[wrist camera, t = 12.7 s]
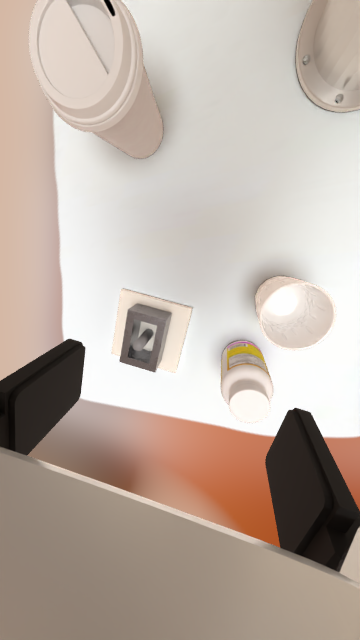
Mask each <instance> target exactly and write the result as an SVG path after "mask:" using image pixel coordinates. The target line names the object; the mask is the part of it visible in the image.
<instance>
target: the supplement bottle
mask: <svg viewBox="0 0 360 640" xmlns="http://www.w3.org/2000/svg"><path fill="white" fill-rule="evenodd" d="M221 393H222V396H223V398H224V400H225V401H226V403H227V404H228V405H229V409H230V412H231V414H232V415H233V416H234V417H235V418H236V419H238V420H239V421H242V422H245V423H256V422H259V421H261V420H263V419H265V418H266V417H267V415H268V414H269V412H270V400H271V398H272V396H273V384H272V381H271V378H270V375H269V372H268V369H267V366H266V363H265V361H264V358H263V355H262V353H261V351H260V349H259V348H258V347H257V346H256V345H255V344H253V343H251V342H248V341H236V342H233V343H231V344H229V345H228V346H227V347H226V348H225V349H224V351H223V353H222V359H221Z"/></svg>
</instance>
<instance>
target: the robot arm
mask: <svg viewBox="0 0 360 640" xmlns="http://www.w3.org/2000/svg"><path fill="white" fill-rule="evenodd" d="M303 63H305V64H306V65H304V64H303ZM296 68H297V74H298V78H299V81H300V84H301V86H302V89H303V90H304V92H305V93H306V95H307V96H308V97H309V98H310V99H311V100H312V101H313V102H314V103H315V104H316V105H318V106H320V107H322V108H324V109H326V110H330V111H334V112H348V111H354V110H358V109H360V0H313V2H312V3H311V5H310V7H309V9H308V11H307V14H306V16H305V19H304V21H303V24H302V27H301V31H300V34H299V37H298V43H297V49H296ZM335 101H338V103H336V102H335ZM84 357H85V347H84V346H83V344H82V343H81V342H79V341H76V340H72V339H67V340H66V341H64V342H63V343H61V344H60V345H58V346H56V347H55V348H53V349H51V350H50V351H48V352H46V353H45V354H43V355H41V356H40V357H38V358H37V359H35V360H33V361H32V362H30V363H29V364H27V365H25V366H24V367H22V368H20V369H19V370H17V371H16V372H14V373H12V374H11V375H9V376H7V377H6V378H4V379H3V380H1V381H0V640H360V511H359V509H358V507H357V505H356V503H355V501H354V499H353V497H352V495H351V493H350V491H349V489H348V487H347V485H346V483H345V481H344V479H343V477H342V475H341V473H340V471H339V469H338V467H337V465H336V463H335V461H334V459H333V457H332V455H331V453H330V451H329V449H328V447H327V445H326V443H325V441H324V439H323V437H322V435H321V433H320V431H319V429H318V427H317V425H316V423H315V421H314V419H313V417H312V415H311V413H310V412H308V411H304V410H301V409H298V408H294V409H293V410H289V411H288V412H287V414H286V416H285V418H284V420H283V422H282V425H281V427H280V429H279V431H278V433H277V435H276V437H275V439H274V441H273V443H272V445H271V447H270V449H269V451H268V453H267V456H266V462H265V463H266V469H267V474H268V481H269V486H270V492H271V497H272V503H273V508H274V514H275V520H276V525H277V531H278V536H279V542H280V548H279V547H277V546H274V545H272V544H269V543H266V542H264V541H261V540H259V539H256V538H253V537H250V536H248V535H245V534H242V533H240V532H237V531H234V530H232V529H229V528H226V527H223V526H221V525H218V524H215V523H213V522H210V521H207V520H204V519H202V518H199V517H196V516H194V515H191V514H188V513H185V512H183V511H180V510H177V509H174V508H172V507H169V506H166V505H163V504H161V503H158V502H155V501H153V500H150V499H147V498H144V497H141V496H138V495H136V494H133V493H130V492H128V491H125V490H122V489H119V488H117V487H114V486H111V485H108V484H106V483H103V482H100V481H97V480H94V479H92V478H89V477H86V476H83V475H80V474H77V473H75V472H72V471H69V470H66V469H63V468H61V467H58V466H55V465H52V464H49V463H47V462H44V461H41V460H38V459H35V458H32V457H29V456H27V455H28V454H29V453H30V452H31V451H32V449H34V447H35V446H36V445H37V444H38V443H39V442H40V441H41V440H42V439H43V438H44V437H45V436H46V434H47V433H48V432H49V431H50V430H51V429H52V428H53V427H54V426H55V425H56V424H57V423H58V422H59V421H60V419H61V418H62V417H63V416H64V415H65V414H66V413H67V412H68V411H69V410H70V408H72V407H73V406H74V404H75V403H76V402H77V401H78V399H79V397H80V394H81V386H82V376H83V366H84Z"/></svg>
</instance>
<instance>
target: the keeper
mask: <svg viewBox="0 0 360 640" xmlns="http://www.w3.org/2000/svg"><path fill="white" fill-rule="evenodd" d="M137 303H139V304H142V305H146V306H150V307H153V308H157V309H160V310H164V311H168V312H171V313H172V316H171V321H170V325H169V329H168V334H167V338H166V343H165V347H164V351H163V356H162V360H161V362H160V364H159V366H158V368H160V369H163V370H166V371H170V372H173V373H176V370H177V366H178V362H179V358H180V355H181V351H182V347H183V343H184V339H185V336H186V332H187V328H188V324H189V320H190V317H191V313H192V309H193V308H191V307H188V306H184V305H181V304H177V303H173V302H170V301H166V300H163V299H159V298H155V297H152V296H148V295H145V294H141V293H137V292H134V291H130V290H127V289H121V292H120V299H119V306H118V312H117V319H116V326H115V333H114V339H113V346H112V353H111V354H114V355H118V356H121V349H122V343H123V337H124V330H125V324H126V318H127V311H128V309H129V308H131V307H132V306H134V305H135V304H137ZM156 329H157V326H156V325H153V324H149V323H146V322H142V321H141V325H140V330H139V336H138V339H137V340H136V341H135V342H134V343H133V348H134V350H136V351H141V350H142V349H145V350H148V351H152V348H153V343H154V338H155V334H156Z"/></svg>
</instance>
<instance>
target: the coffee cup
mask: <svg viewBox="0 0 360 640" xmlns="http://www.w3.org/2000/svg"><path fill="white" fill-rule="evenodd" d="M29 51H30V57H31V61H32V65H33V68H34V71H35V74H36V76H37V78H38V81H39V84H40V86H41V88H42V91H43V92H44V95H45V97H46V98H47V100H48V102H49V103H50V105H51V106H52V108H53V109H54V111H55V112H56V113H57V114H58V116H59V117H60V118H61V119H62V120H63V121H65V122H66V123H67V124H69V125H70V126H72V127H74V128H76V129H78V130H81V131H85V132H92V133H94V134H95V135H97V136H99V137H100V138H102V139H104V140H105V141H107V142H109V143H110V144H112V145H113V146H115V147H117V148H118V149H120V150H121V151H123V152H125V153H126V154H128V155H130V156H131V157H134V158H138V159H143V158H147V157H149V156H151V155H152V154H153V153H154V152H155V151H156V150H157V149H158V147H159V145H160V143H161V141H162V137H163V122H162V118H161V115H160V112H159V109H158V107H157V104H156V101H155V98H154V95H153V92H152V89H151V86H150V83H149V80H148V77H147V74H146V71H145V68H144V65H143V50H142V43H141V38H140V34H139V31H138V28H137V25H136V23H135V21H134V19H133V17H132V15H131V13H130V11H129V10H128V8H127V7H126V6H125V5H124V3H123V2H122V1H121V0H37V2H36V4H35V7H34V10H33V12H32V16H31V21H30V27H29Z"/></svg>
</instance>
